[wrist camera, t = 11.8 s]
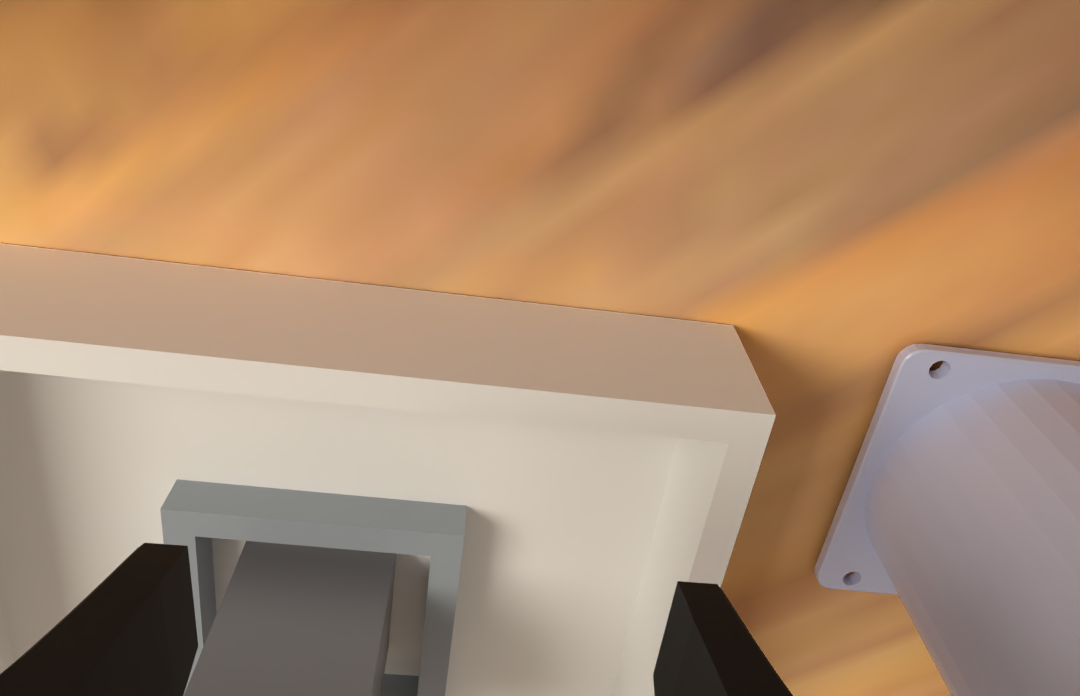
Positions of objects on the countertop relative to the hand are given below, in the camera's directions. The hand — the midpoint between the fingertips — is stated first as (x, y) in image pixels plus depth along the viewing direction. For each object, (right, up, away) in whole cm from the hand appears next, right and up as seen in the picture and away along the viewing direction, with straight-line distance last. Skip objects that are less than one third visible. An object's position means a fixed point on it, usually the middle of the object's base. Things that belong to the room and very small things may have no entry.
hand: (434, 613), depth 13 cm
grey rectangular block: (-5, -3, +12) cm, 13 cm away
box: (-5, -3, +12) cm, 13 cm away
